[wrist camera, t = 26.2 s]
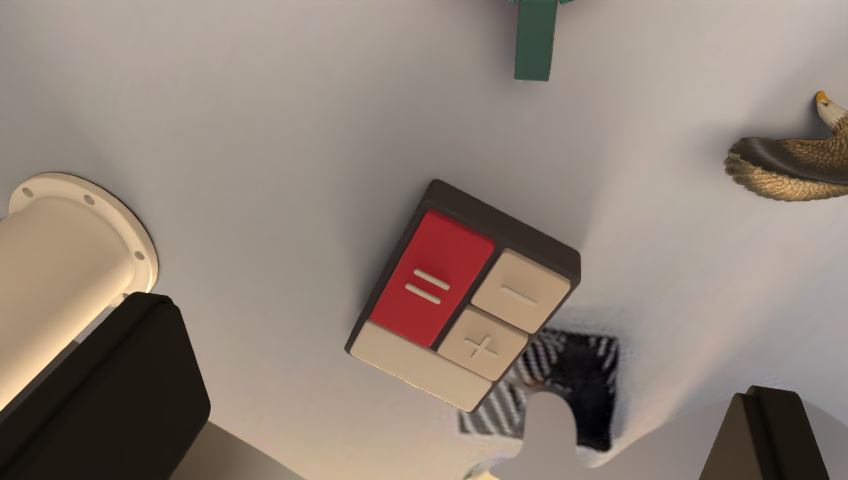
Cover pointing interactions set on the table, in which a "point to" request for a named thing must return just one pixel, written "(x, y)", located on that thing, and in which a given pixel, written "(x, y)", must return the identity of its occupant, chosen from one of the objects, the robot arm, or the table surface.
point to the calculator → (462, 298)
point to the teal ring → (535, 39)
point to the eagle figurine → (796, 161)
